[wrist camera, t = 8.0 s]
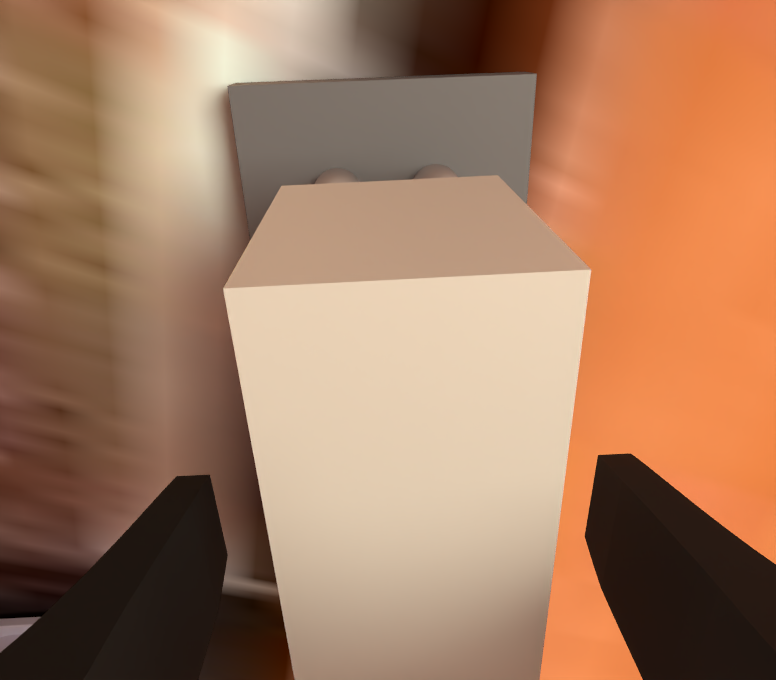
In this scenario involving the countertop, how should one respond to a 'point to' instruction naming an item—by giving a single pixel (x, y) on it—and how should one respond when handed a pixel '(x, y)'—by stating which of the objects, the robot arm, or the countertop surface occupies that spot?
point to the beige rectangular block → (410, 421)
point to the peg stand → (381, 131)
